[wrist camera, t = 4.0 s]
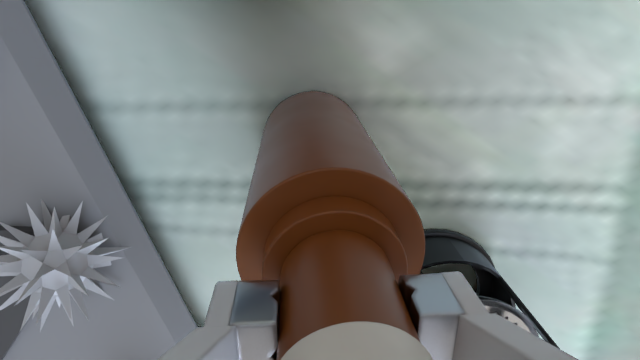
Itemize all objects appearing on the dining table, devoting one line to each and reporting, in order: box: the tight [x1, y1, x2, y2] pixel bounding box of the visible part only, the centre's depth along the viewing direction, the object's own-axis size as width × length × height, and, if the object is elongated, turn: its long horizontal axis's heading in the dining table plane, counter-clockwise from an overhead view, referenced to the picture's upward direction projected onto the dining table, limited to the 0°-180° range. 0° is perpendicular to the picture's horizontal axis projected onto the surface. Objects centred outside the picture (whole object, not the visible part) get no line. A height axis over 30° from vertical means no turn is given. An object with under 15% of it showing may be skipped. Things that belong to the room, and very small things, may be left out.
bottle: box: [236, 91, 433, 360], centre depth 15 cm, size 6×6×18 cm
